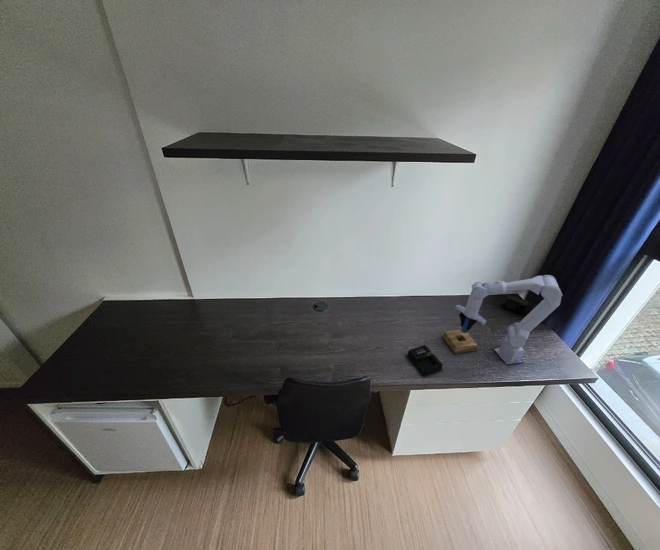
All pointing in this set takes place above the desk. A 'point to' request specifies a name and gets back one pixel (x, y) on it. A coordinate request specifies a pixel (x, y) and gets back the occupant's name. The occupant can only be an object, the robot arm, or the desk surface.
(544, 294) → the robot arm
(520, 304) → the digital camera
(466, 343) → the holder
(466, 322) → the handle
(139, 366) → the desk surface
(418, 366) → the battery charger
